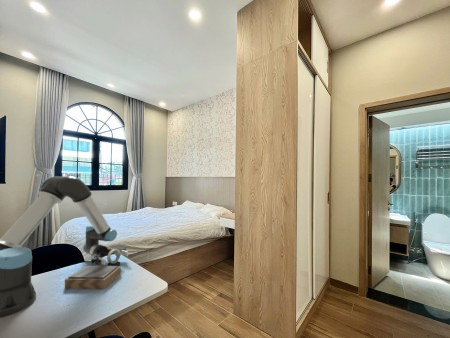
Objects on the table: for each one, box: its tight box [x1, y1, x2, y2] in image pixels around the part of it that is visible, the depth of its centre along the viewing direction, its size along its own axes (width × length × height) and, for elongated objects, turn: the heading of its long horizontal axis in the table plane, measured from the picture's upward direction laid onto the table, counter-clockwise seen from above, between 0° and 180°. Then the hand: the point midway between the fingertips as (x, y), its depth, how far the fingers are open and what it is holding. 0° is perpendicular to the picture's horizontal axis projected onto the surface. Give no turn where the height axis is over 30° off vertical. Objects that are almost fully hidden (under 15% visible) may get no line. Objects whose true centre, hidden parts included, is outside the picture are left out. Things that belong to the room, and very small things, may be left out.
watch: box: [106, 248, 122, 267], centre depth 117 cm, size 6×8×11 cm
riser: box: [64, 265, 122, 290], centre depth 102 cm, size 20×14×5 cm
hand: (116, 258), depth 116 cm, fingers open, 13 cm apart
